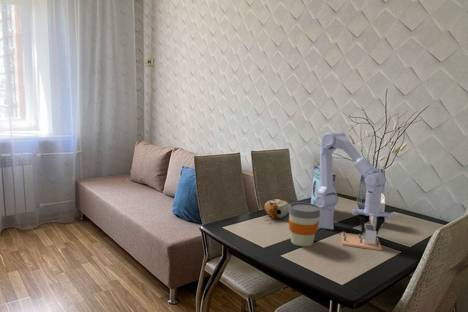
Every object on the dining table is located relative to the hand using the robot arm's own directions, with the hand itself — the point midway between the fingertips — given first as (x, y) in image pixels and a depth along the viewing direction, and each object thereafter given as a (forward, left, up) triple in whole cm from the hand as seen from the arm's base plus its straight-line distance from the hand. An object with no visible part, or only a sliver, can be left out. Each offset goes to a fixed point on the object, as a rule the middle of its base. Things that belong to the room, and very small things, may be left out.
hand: (369, 232), depth 141 cm
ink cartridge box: (+6, +26, -5) cm, 27 cm away
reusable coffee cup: (-27, -8, -5) cm, 28 cm away
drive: (0, 0, -4) cm, 4 cm away
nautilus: (-42, +18, -5) cm, 46 cm away
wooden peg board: (-3, 0, -4) cm, 5 cm away
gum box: (-20, +33, -5) cm, 39 cm away
